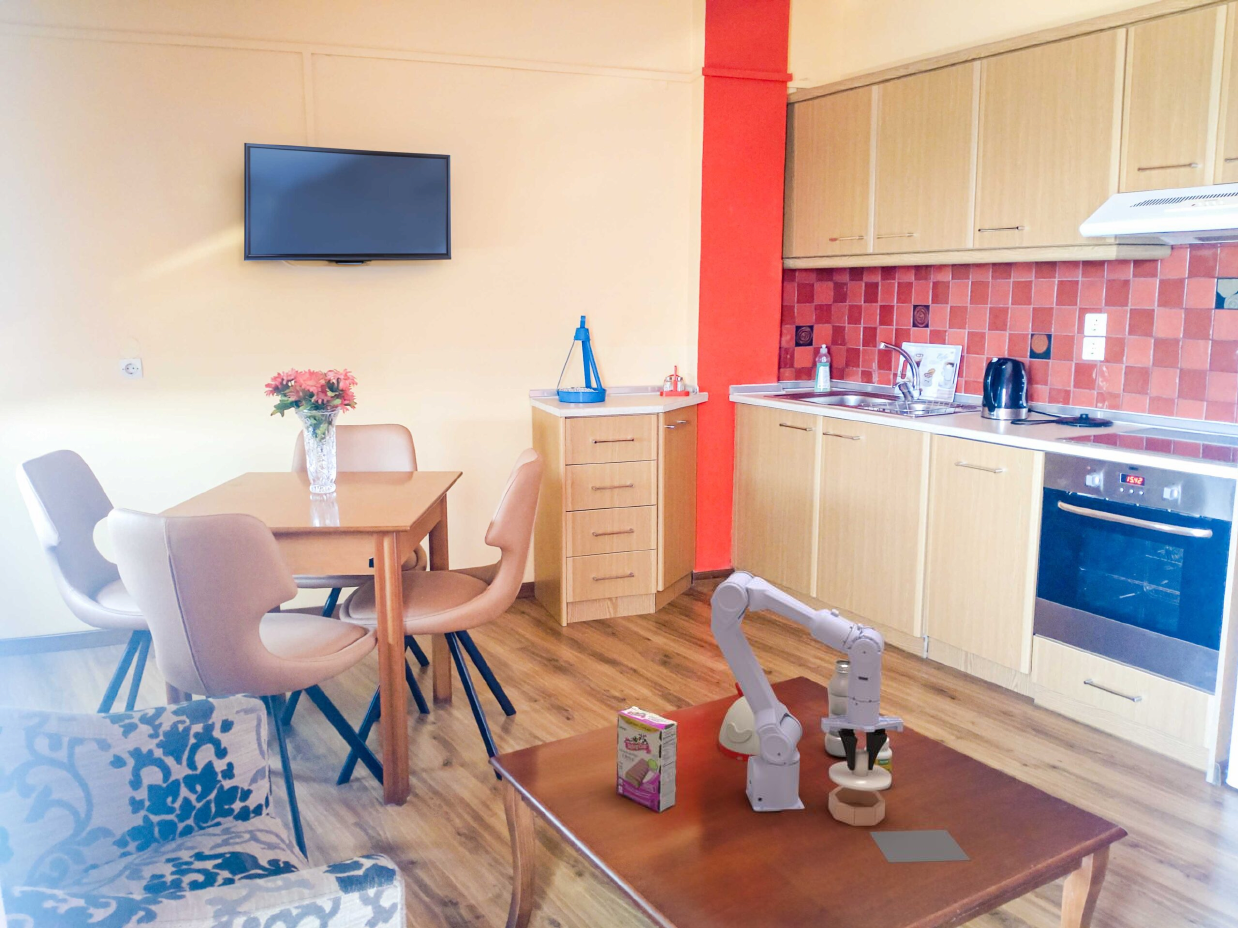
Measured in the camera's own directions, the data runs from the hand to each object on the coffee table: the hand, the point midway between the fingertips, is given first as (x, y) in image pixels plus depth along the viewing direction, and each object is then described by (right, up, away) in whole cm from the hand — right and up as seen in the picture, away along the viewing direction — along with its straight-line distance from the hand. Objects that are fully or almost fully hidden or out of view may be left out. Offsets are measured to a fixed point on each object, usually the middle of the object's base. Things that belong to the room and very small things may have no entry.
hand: (859, 767), depth 176 cm
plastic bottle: (+3, -6, +28) cm, 28 cm away
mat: (+8, -11, -10) cm, 16 cm away
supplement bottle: (+7, -8, +14) cm, 18 cm away
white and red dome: (-16, -5, +30) cm, 34 cm away
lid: (0, -2, 0) cm, 2 cm away
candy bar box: (-39, -8, +6) cm, 40 cm away
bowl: (0, -9, +2) cm, 9 cm away
